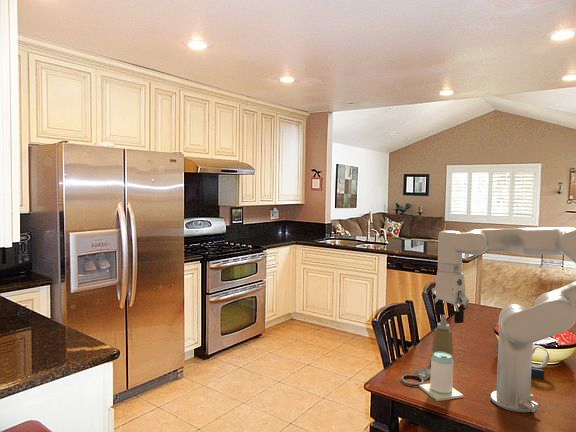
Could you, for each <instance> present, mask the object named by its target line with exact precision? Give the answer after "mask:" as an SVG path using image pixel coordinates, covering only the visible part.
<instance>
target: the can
mask: <svg viewBox="0 0 576 432" xmlns="http://www.w3.org/2000/svg"><path fill="white" fill-rule="evenodd" d="M454 363H455V361H454V359H453V355H452V356H451V355H450V354H448V353H445V352H435V353H434V355H432V356H431V359H430V368H431V377H429V379H430V382H429V384H430V387H431V388H432V389H433V390H434V391H435V392H438V393H442V394H447V393H449V392H451V391H452V389H453V388H454V387H453V385H454V380H453V379H454V365H455V364H454Z"/></svg>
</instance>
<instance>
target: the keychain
mask: <svg viewBox="0 0 576 432" xmlns="http://www.w3.org/2000/svg"><path fill="white" fill-rule="evenodd" d="M430 377H431V366H430V367H428V366H427V367H423V368H421V369H419V370H417V371H415V372H414V373H412V374H405V375H402V376H401V380H400V381H401V383H402V384H404V385H406V386H408V387H414V388H420V387H419V385H422V384H425V382H426V381H428V379H430ZM405 379H416V380H418V381H419V382H410V381H407V380H405Z"/></svg>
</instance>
